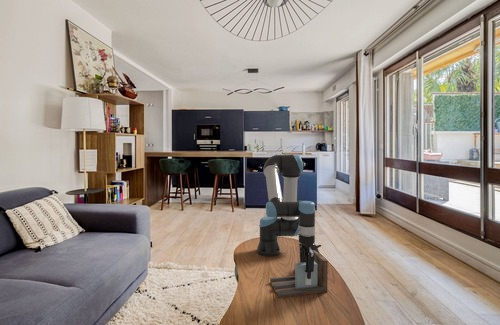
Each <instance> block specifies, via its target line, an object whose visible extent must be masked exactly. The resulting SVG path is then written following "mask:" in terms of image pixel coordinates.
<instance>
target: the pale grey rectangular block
mask: <svg viewBox="0 0 500 325" xmlns="http://www.w3.org/2000/svg"><path fill="white" fill-rule="evenodd" d="M294 264H295V265H294V268H295V269H294V270H295V272H294V276H295V288H296V289H300V288H309V287H317V263H316V262H315V261H314V272H311V285H305V270H306V262H302V263H300V262H295V263H294Z"/></svg>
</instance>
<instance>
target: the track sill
mask: <svg viewBox="0 0 500 325" xmlns="http://www.w3.org/2000/svg"><path fill="white" fill-rule="evenodd" d="M312 252H315V256H314V261H315V262H316V263H317V287H309V288H300V289H296V288H295V275H288V276H279V277H270V280H269V283H270V285H271V287H272V288H273V290H274V292H275V294H276V295H277V297H278V298H288V297H295V296H304V295H313V294H320V293H321V294H322V293H328V275H329V274H328V270H329V269H328V266H329V264H328V262H329V261H328V259H326V258H325V257H324V256H323V255H321V254H319V253H320V252H319V253H318V252H317V251H315V250H312Z"/></svg>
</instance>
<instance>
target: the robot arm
mask: <svg viewBox="0 0 500 325" xmlns="http://www.w3.org/2000/svg"><path fill="white" fill-rule="evenodd" d="M303 173H304V164H303V160H302V157H301V155H299V154H274V155H272V156H270V157H269V158H268V159H267V160H266V161H265V163H264V166H263V175H264V176H265V180H266V182H265V183H266V188H267V189H266V190H267V197H268V202H266V203H265V216H263V217H261V218H260V219H259V241H258V245H257V248H256V253H257V254H258V255H260V256H264V257H275V256H278V255H279V254H280V253H281V248H280V244H279V242H278V237H298V242H299V243H298V246H299V263H302V262H306V270H305V285H311V272H314V256H315V252H312V244H316V243H315V242H316V240H315V239H316V235H315V234H316V206H315V205H316V204H315V202H314V201H311V200H298V179H299V178H300V177H301V174H303ZM280 174H281V177H282V178H283V192H282V187H281V183H280V182H281V180H280V177H279V175H280Z"/></svg>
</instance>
